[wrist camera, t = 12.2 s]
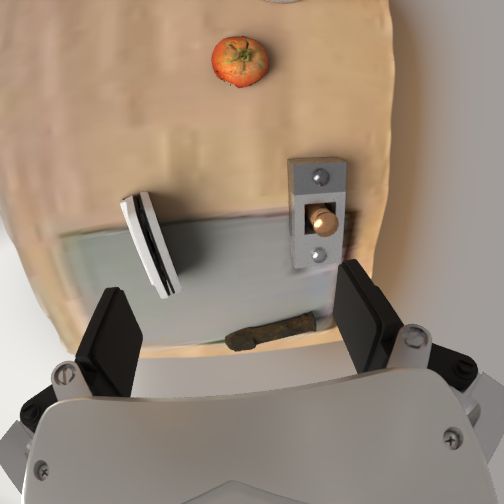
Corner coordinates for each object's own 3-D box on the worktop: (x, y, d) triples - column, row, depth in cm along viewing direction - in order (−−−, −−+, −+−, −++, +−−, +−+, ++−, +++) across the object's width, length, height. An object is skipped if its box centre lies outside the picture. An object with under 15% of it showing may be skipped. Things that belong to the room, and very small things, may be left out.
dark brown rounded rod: (312, 307, 56) (318, 323, 52) (313, 320, 58) (318, 336, 54) (222, 326, 57) (222, 343, 53) (226, 338, 59) (227, 355, 55)
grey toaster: (119, 197, 41) (117, 216, 33) (146, 187, 42) (151, 203, 34) (151, 281, 49) (159, 313, 41) (175, 272, 51) (187, 302, 43)
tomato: (280, 83, 33) (247, 78, 28) (241, 94, 38) (207, 93, 33) (270, 35, 30) (236, 24, 25) (233, 49, 35) (198, 43, 30)
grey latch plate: (287, 159, 41) (294, 166, 37) (336, 156, 41) (348, 163, 37) (290, 255, 49) (295, 270, 45) (333, 250, 50) (341, 264, 46)
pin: (302, 198, 44) (314, 214, 38) (324, 196, 44) (339, 212, 38) (302, 220, 46) (313, 238, 40) (324, 217, 46) (338, 235, 40)
